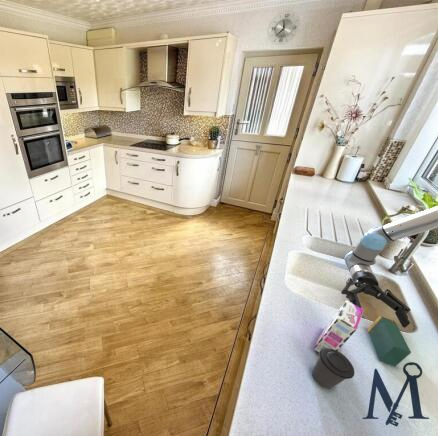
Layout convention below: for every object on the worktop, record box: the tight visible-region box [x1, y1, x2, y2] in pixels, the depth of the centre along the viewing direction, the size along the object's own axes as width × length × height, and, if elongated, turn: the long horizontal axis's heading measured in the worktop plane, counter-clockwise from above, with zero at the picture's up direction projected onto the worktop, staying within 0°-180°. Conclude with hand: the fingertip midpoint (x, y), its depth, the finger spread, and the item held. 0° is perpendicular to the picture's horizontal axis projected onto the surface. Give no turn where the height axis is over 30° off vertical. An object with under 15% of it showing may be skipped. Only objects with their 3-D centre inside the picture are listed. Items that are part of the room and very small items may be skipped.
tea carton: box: [366, 315, 412, 367], centre depth 76 cm, size 12×4×8 cm, turn 155°
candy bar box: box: [312, 299, 365, 355], centre depth 74 cm, size 11×5×16 cm, turn 131°
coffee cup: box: [311, 348, 355, 390], centre depth 66 cm, size 8×8×10 cm
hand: (381, 316), depth 82 cm, fingers open, 13 cm apart
